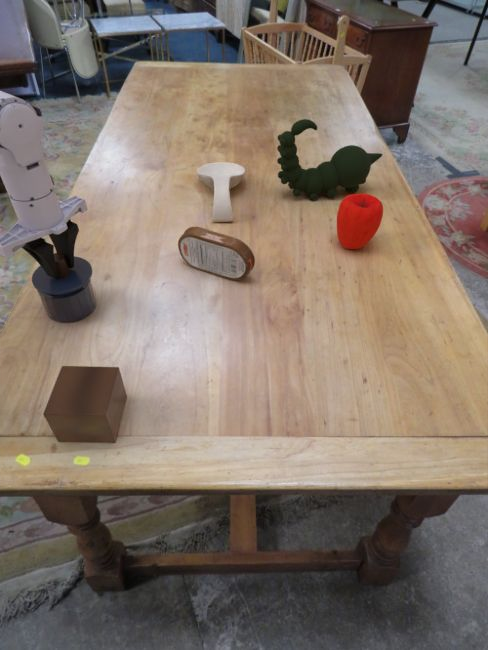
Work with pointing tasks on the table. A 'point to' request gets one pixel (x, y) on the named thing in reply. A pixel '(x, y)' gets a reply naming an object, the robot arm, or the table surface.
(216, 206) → the spoon rest
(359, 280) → the table surface
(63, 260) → the tin lid
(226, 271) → the tin
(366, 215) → the apple
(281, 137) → the toy figurine
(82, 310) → the grey short cylinder
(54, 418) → the riser
